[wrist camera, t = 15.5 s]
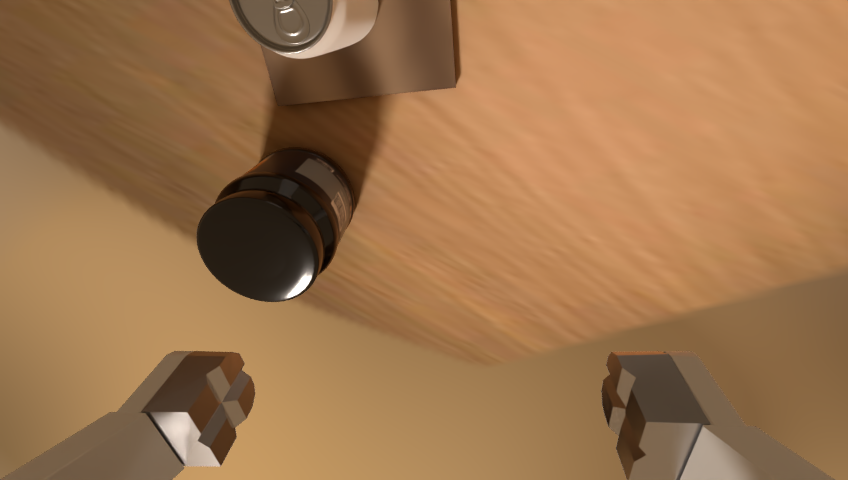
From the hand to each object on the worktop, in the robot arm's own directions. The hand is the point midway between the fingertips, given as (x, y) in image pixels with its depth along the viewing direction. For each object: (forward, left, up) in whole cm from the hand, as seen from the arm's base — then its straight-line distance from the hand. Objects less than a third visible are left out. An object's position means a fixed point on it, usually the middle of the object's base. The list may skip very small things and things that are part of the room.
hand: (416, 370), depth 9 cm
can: (+7, -9, -30) cm, 32 cm away
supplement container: (+15, +8, -31) cm, 35 cm away
